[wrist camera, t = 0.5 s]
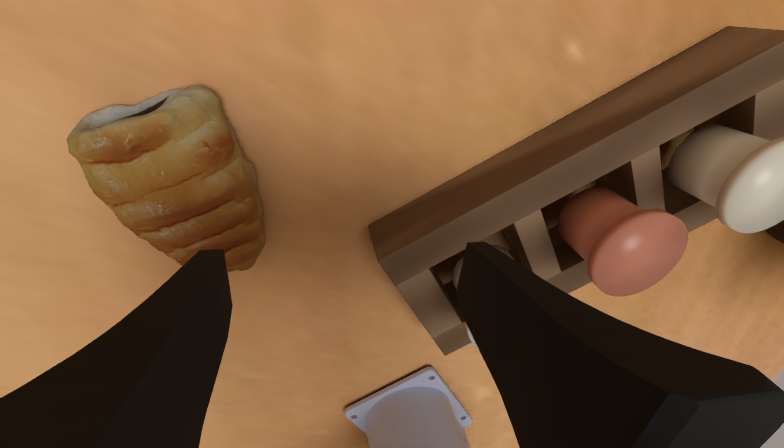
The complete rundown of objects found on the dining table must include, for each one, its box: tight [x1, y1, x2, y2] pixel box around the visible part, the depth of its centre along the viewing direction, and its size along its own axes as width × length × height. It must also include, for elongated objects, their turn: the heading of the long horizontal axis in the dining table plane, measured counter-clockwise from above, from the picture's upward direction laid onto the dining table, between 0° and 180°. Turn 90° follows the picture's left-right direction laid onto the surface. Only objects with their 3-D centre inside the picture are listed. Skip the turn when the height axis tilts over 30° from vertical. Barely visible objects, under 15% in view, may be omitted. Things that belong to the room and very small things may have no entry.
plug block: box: [369, 26, 784, 356], centre depth 22 cm, size 9×22×4 cm, turn 117°
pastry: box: [67, 85, 265, 272], centre depth 18 cm, size 9×7×4 cm
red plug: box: [557, 186, 688, 296], centre depth 19 cm, size 5×5×4 cm
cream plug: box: [668, 124, 784, 233], centre depth 19 cm, size 5×5×4 cm
